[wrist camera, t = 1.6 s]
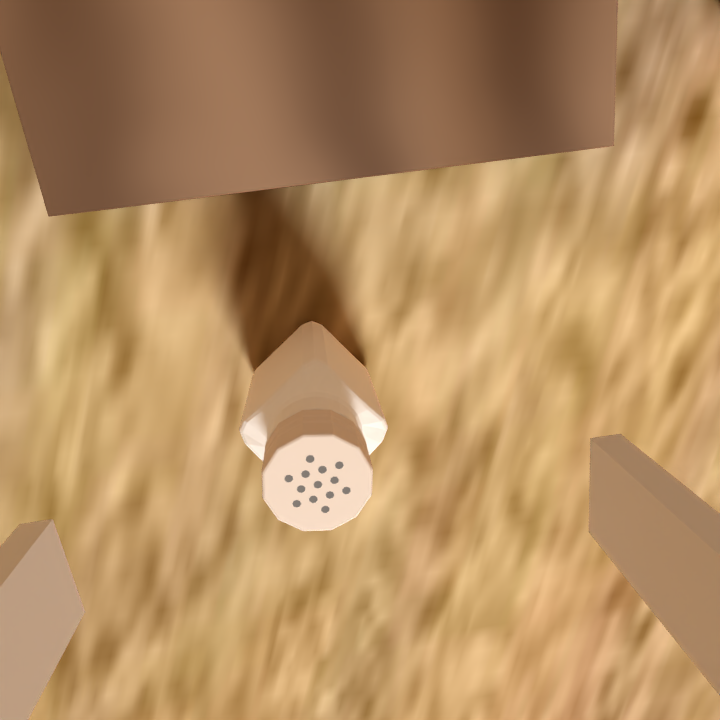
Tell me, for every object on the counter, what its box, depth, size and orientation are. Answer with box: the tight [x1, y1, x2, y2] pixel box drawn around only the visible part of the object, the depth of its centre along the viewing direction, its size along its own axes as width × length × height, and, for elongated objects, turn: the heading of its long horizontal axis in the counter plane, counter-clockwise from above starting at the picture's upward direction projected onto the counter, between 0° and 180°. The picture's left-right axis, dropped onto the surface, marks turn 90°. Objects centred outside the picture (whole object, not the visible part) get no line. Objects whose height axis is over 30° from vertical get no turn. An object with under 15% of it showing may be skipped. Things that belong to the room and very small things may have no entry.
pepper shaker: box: [239, 321, 388, 531], centre depth 20 cm, size 4×4×10 cm
